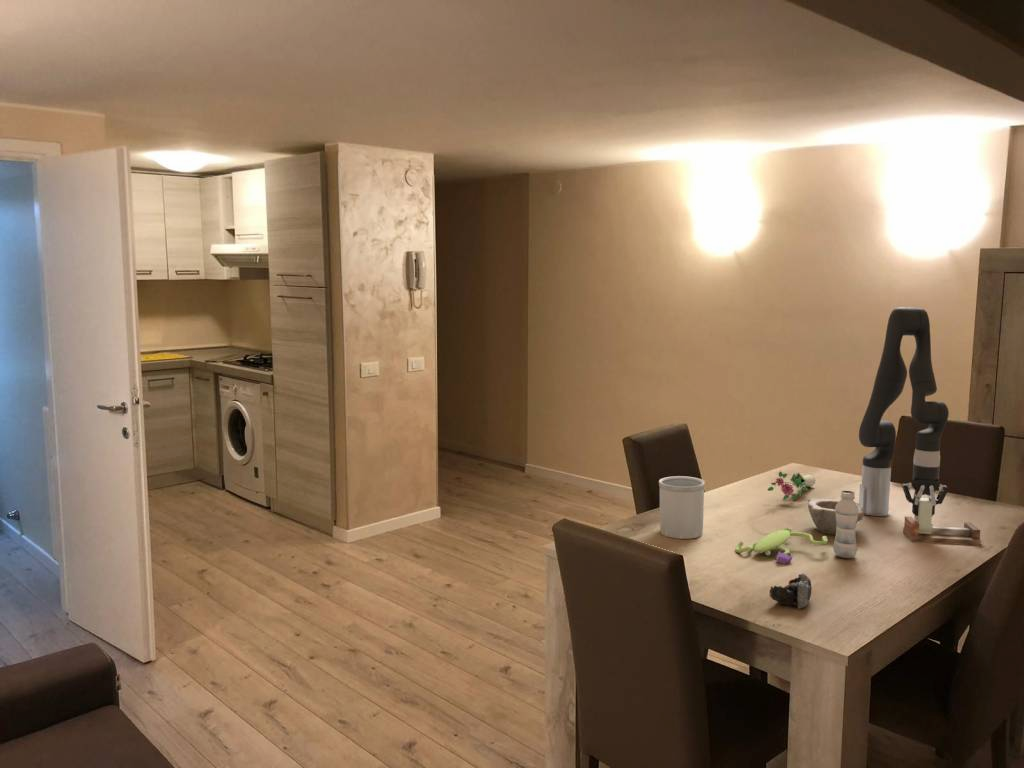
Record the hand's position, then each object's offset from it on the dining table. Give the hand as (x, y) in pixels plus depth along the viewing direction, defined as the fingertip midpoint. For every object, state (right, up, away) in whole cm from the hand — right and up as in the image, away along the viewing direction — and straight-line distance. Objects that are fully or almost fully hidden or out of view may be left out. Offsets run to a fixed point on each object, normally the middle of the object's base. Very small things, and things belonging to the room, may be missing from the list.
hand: (923, 515), depth 258 cm
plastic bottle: (-32, -10, -17) cm, 38 cm away
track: (+6, -7, 0) cm, 9 cm away
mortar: (-26, -7, +8) cm, 28 cm away
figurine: (-49, -10, -11) cm, 51 cm away
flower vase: (-23, -1, +51) cm, 56 cm away
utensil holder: (-77, -7, +7) cm, 77 cm away
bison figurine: (-60, -14, -50) cm, 79 cm away
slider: (0, -5, +1) cm, 5 cm away
